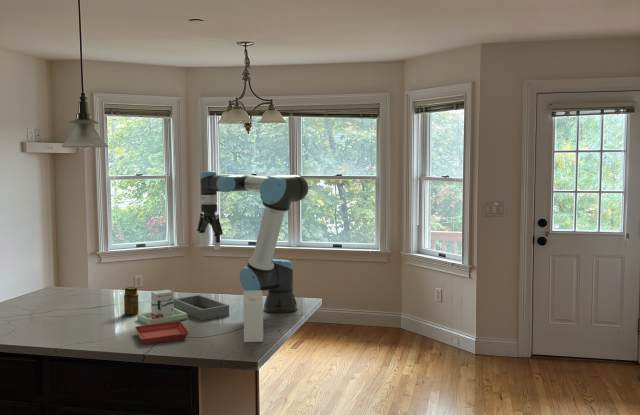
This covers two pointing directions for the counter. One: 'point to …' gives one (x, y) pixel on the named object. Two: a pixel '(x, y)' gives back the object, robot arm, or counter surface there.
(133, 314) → the condiment
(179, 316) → the tray
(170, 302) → the ink box
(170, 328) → the plant saucer
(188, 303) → the tray
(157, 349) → the counter surface
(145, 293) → the counter surface
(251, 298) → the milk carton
